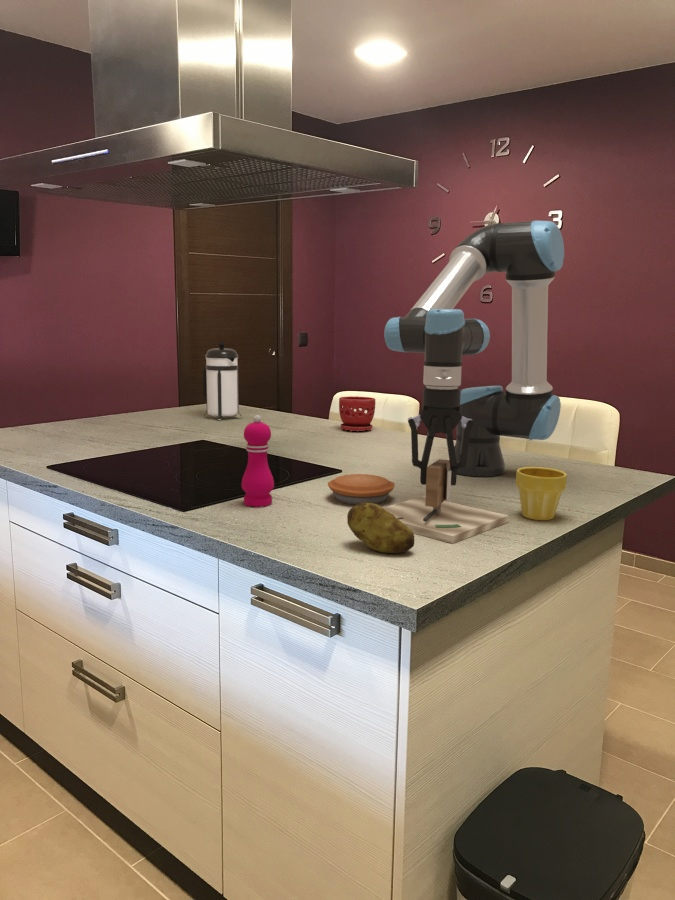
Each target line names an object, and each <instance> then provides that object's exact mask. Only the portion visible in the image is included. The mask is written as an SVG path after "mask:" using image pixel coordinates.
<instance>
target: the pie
mask: <svg viewBox="0 0 675 900" xmlns="http://www.w3.org/2000/svg"><path fill="white" fill-rule="evenodd" d="M395 485H396V484H395V482H393V481H391V480H389V479H387V478H386V477H383V476H380V475H375V474H367V473H366V474H364V473H362V474H361V473H354V474H344V475H339V476H336V477H335V478H334V479H331V480H330V481H328V482H327V486H328V488H329V490H330V491H332V494H333V496H334V497H335V498H336V500H337V501H338V502H340V503H343V504H347V505H352V506H353V505H354V506H355V505H358V504H359V503H366V502H370V503H374V504H377V505H379V504H382V503H383V502H385V501H386V499H387V498H388V496H389V494H390V493H391V492H392V491H393V490H394V488H395Z"/></svg>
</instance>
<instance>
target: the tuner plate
mask: <svg viewBox="0 0 675 900" xmlns="http://www.w3.org/2000/svg"><path fill="white" fill-rule="evenodd" d="M425 501H426V500H425V495H422V496H418V497H415V498H410V499H408V500H407V499H406V500H405V501H404V500H403V501H401V502H397V503H394V504H391V505H388V506H383V507H382V508H383V509H385V510H386V511H388V512H389V513H391V514H393V515H394V516H395V517H396V518H397V519H398V520H400V521H401V522H403V523H404V524H405V525H406V526H407V527H409V528H410V529H411V530H412V532H413V534H416V535H419V536H423V537H427V538H431V539H433V540H434V539H435V540H437V541H440V542H445V543H449V544H452V545H453V544H455V543H458V542H460V541H464V540H465V539H469V538H471V537H473V536H476V535H479V534H481V533H485V532H487V531H489V530H492V529H494V528H497V527H501V526H502V525H506V524H508V523H509V519H510V518H509V515H508V514H504V513H499V512H495V511H490V510H486V509H482V508H478V507H472V506H469V505H465V504H460V503H457V502H451V501H450V502H446V500H445V501H444V502H442V503H441V513H440V514H435V515H433V516H432V517H431V518H430V519H429V520H428V521H427V522H426V521H423V518H425V517H426V516H427V515H428V514H429V513H430V512H432V511H433V507H430V506H425Z"/></svg>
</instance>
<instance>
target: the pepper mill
mask: <svg viewBox="0 0 675 900" xmlns="http://www.w3.org/2000/svg"><path fill="white" fill-rule="evenodd" d="M252 420H253V422H250V423H248V424H247V425H246V426H245V428H244V430H243V439H244V440H245V441H246V445H245V446H246V449H245V450H246V452H247V456H248V457H247V465H246V467H245V470H244V473H243V476H242V479H241V489H242V490H243V491H244V492H245V495H244V496H243V504H244V506H247V507H250V506H254V507H253V508H261V507H260V506H264V507H268V506H267V505H269V506H270V504H271V503H273V496H272V494H271V492H273V490H274V488H275V481H274V477H273V475H272V472H271V470H270V467H269V463H268V462H269V461H268V451H270V448H269V446H270V444H269V443H268V442H269V441H270V440H271V437H272V431H271V428H270V426H269V425H268V424H266V423H264V422H262V417H261V415H259V414H256V415H254V416H253V418H252ZM271 505H272V504H271Z"/></svg>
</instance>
